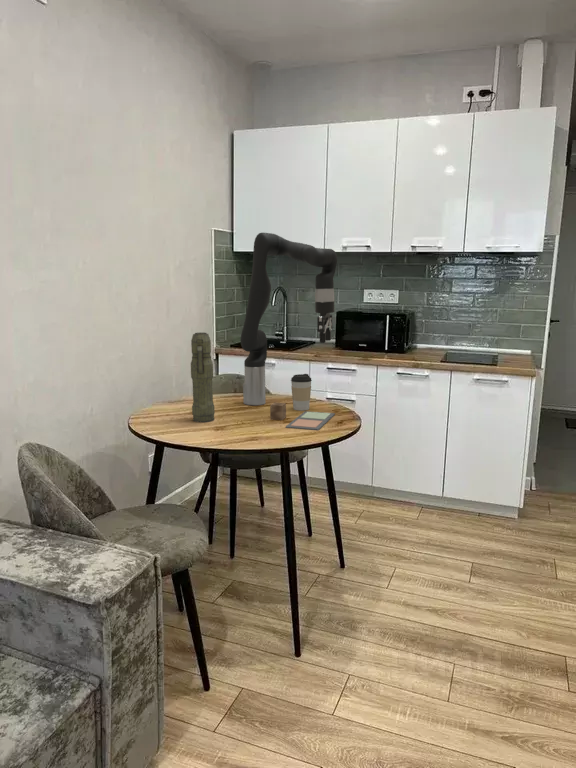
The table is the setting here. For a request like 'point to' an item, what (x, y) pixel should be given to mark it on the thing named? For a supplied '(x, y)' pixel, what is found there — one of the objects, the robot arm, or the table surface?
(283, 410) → the walnut block
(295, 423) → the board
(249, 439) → the table surface
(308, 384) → the coffee cup
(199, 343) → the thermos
